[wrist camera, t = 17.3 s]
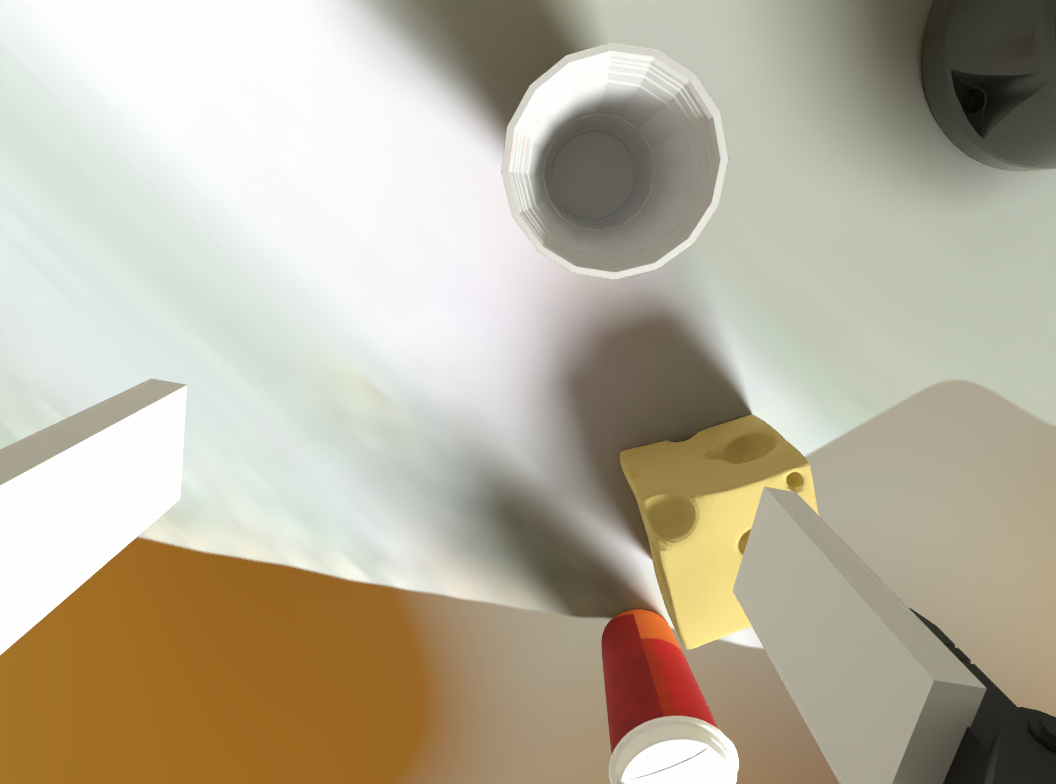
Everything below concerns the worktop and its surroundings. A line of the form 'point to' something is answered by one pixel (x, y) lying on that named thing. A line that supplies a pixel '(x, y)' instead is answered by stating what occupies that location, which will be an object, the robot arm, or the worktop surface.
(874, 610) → the robot arm
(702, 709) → the paper cup
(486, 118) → the worktop surface
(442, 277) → the worktop surface
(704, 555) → the cheese
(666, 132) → the plastic cup
